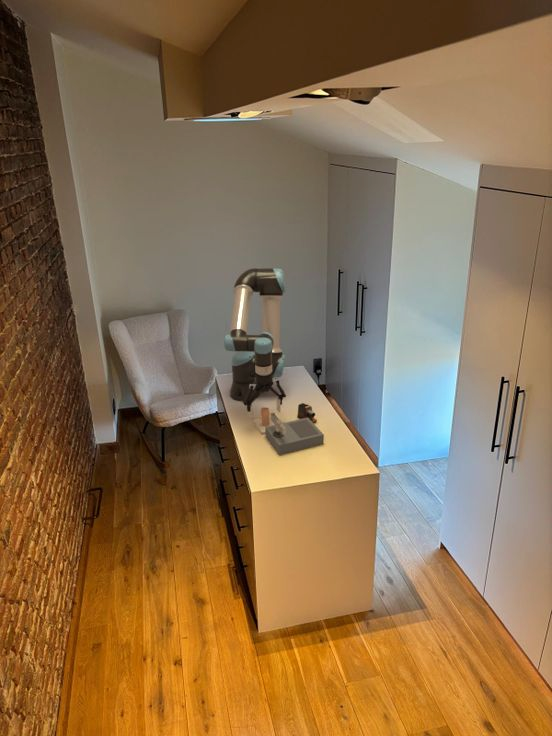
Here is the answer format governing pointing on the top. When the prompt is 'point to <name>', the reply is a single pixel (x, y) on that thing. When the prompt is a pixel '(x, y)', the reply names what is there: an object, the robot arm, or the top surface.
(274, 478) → the top surface
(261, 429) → the cover
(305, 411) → the electronic device
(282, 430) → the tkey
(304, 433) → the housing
